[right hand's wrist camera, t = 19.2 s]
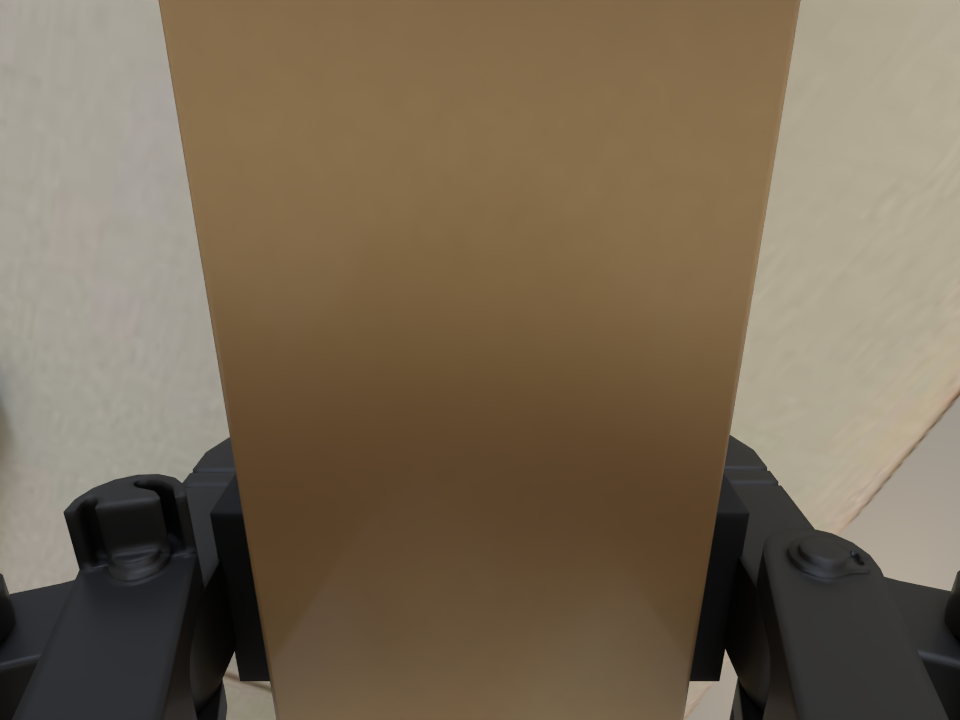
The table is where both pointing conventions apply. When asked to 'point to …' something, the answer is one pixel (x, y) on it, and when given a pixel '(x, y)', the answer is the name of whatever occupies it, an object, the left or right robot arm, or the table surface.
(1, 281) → the table surface
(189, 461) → the table surface
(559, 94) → the bar
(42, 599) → the right robot arm
